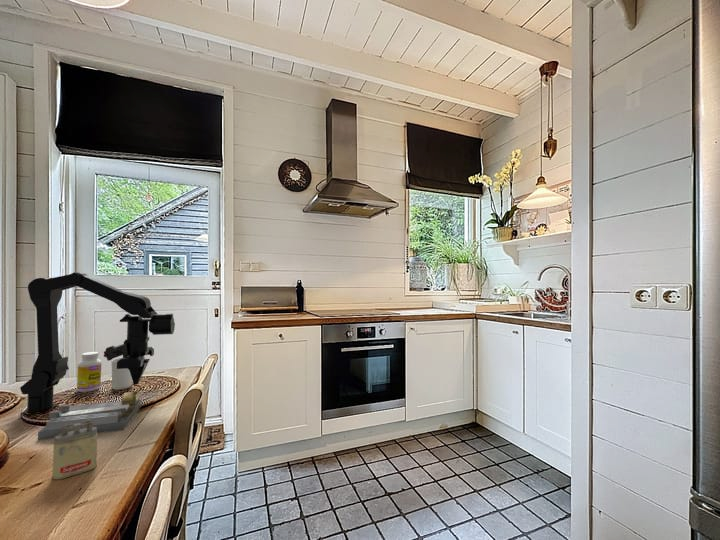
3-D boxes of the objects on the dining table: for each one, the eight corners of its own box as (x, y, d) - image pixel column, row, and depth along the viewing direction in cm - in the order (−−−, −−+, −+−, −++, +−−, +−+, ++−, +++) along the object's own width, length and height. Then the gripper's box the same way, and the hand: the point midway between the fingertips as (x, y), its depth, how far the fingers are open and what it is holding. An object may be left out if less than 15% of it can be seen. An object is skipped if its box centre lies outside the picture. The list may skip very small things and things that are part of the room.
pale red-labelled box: (52, 482, 67) (54, 431, 67) (51, 474, 70) (53, 424, 70) (97, 468, 72) (99, 420, 72) (95, 461, 75) (96, 415, 75)
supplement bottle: (87, 393, 117) (88, 355, 118) (71, 391, 119) (72, 354, 119) (105, 387, 124) (106, 351, 124) (90, 385, 125) (91, 350, 125)
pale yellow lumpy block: (124, 401, 104) (125, 392, 105) (138, 400, 106) (138, 391, 106) (118, 408, 99) (119, 398, 99) (133, 406, 101) (133, 397, 101)
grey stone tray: (71, 412, 101) (71, 395, 101) (141, 405, 107) (142, 389, 107) (37, 440, 84) (38, 419, 84) (123, 430, 90) (124, 410, 90)
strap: (54, 420, 89) (54, 416, 89) (60, 416, 92) (60, 412, 92) (125, 411, 95) (125, 407, 95) (129, 407, 98) (129, 403, 98)
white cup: (136, 386, 126) (137, 358, 126) (115, 390, 120) (116, 362, 120) (127, 382, 129) (128, 356, 129) (107, 387, 124) (108, 359, 124)
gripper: (117, 331, 116) (116, 377, 116) (96, 341, 99) (94, 396, 98) (155, 330, 120) (153, 375, 120) (140, 340, 102) (139, 392, 102)
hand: (136, 383), depth 110 cm, fingers closed
